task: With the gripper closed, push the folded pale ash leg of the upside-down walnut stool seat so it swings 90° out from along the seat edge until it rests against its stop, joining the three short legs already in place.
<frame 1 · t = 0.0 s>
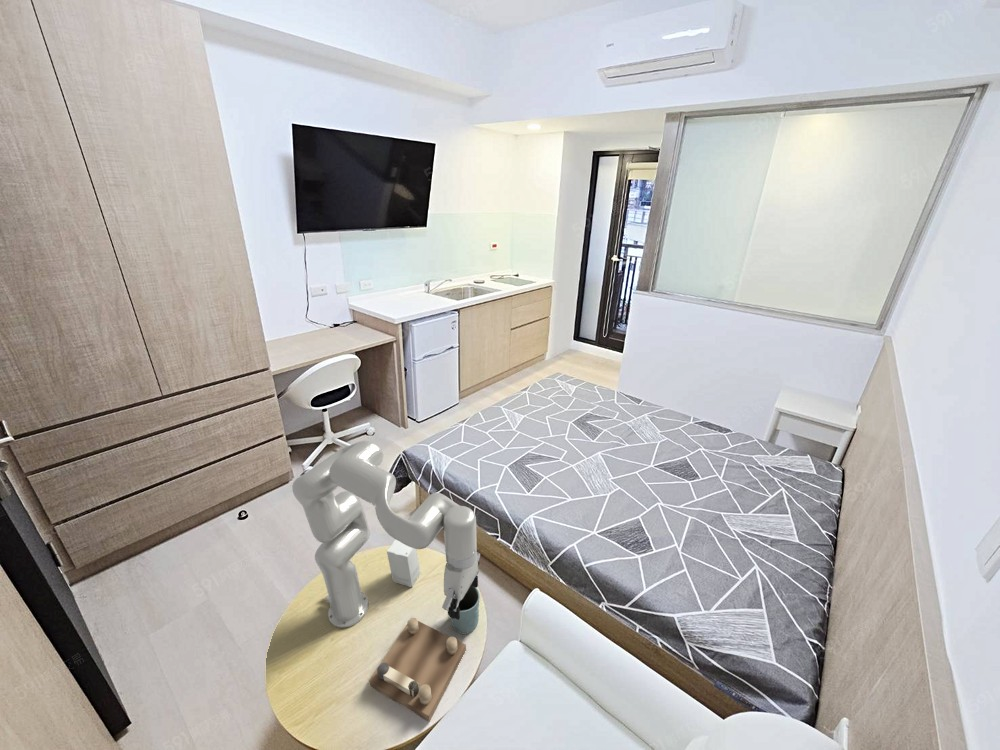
hand: (463, 600, 105), 31 cm above the table, tool pointing down, fingers open, 9 cm apart
stool seat: (419, 667, 119), on the table
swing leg: (397, 679, 112), point 4 cm above the table, hinge at 0.0°
skincare box: (406, 578, 146), on the table
teal cup: (464, 621, 132), on the table
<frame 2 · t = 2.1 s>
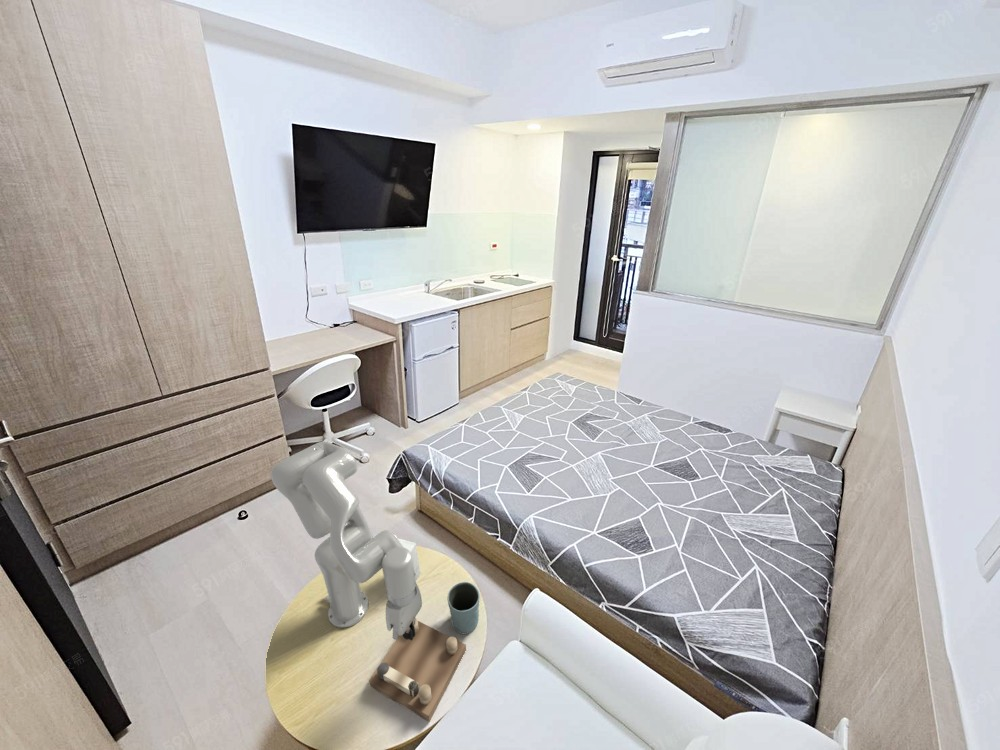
hand: (409, 635, 112), 15 cm above the table, tool pointing down, fingers closed
nothing on the table moved.
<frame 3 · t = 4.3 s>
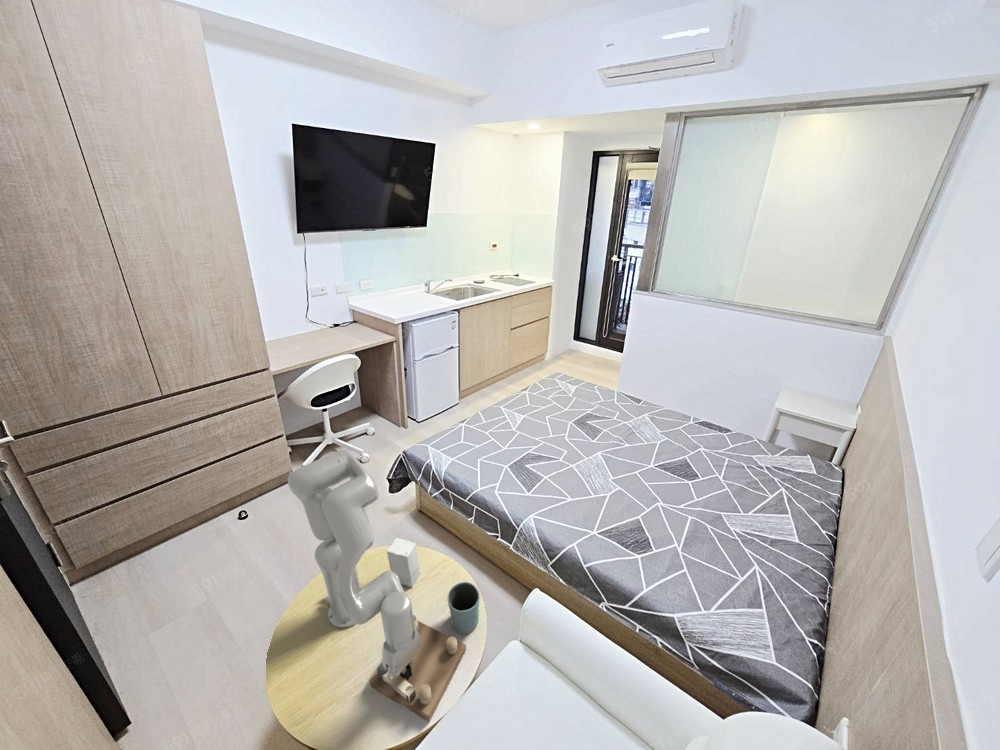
hand: (406, 674, 113), 4 cm above the table, tool pointing down, fingers closed
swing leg: (396, 681, 111), point 4 cm above the table, hinge at -7.3°, touching gripper
everything else where it was.
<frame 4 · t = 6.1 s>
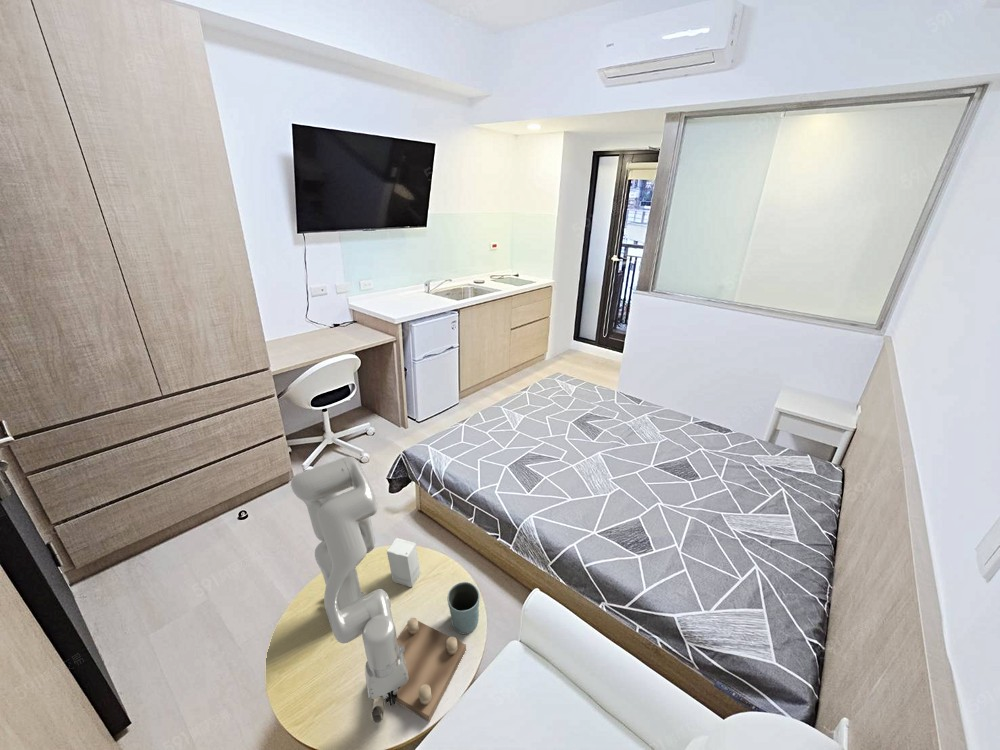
hand: (391, 699, 108), 4 cm above the table, tool pointing down, fingers closed
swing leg: (380, 691, 109), point 4 cm above the table, hinge at -59.4°, touching gripper
everything else where it was.
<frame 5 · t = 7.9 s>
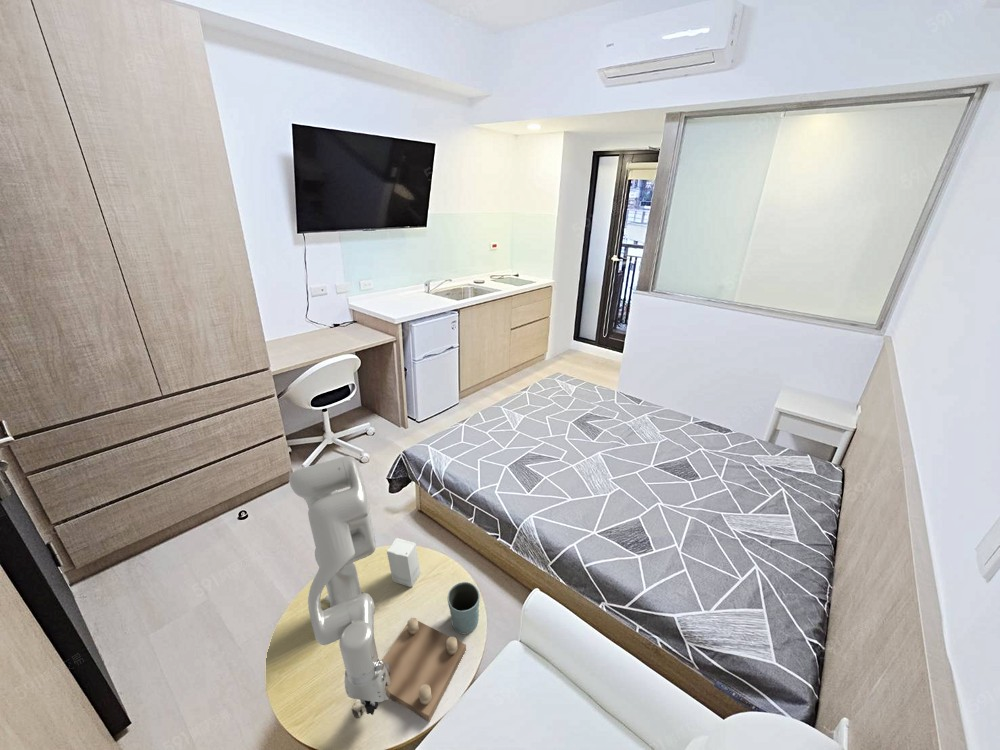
hand: (372, 707, 106), 4 cm above the table, tool pointing down, fingers closed
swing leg: (371, 689, 109), point 4 cm above the table, hinge at -90.8°
everything else where it was.
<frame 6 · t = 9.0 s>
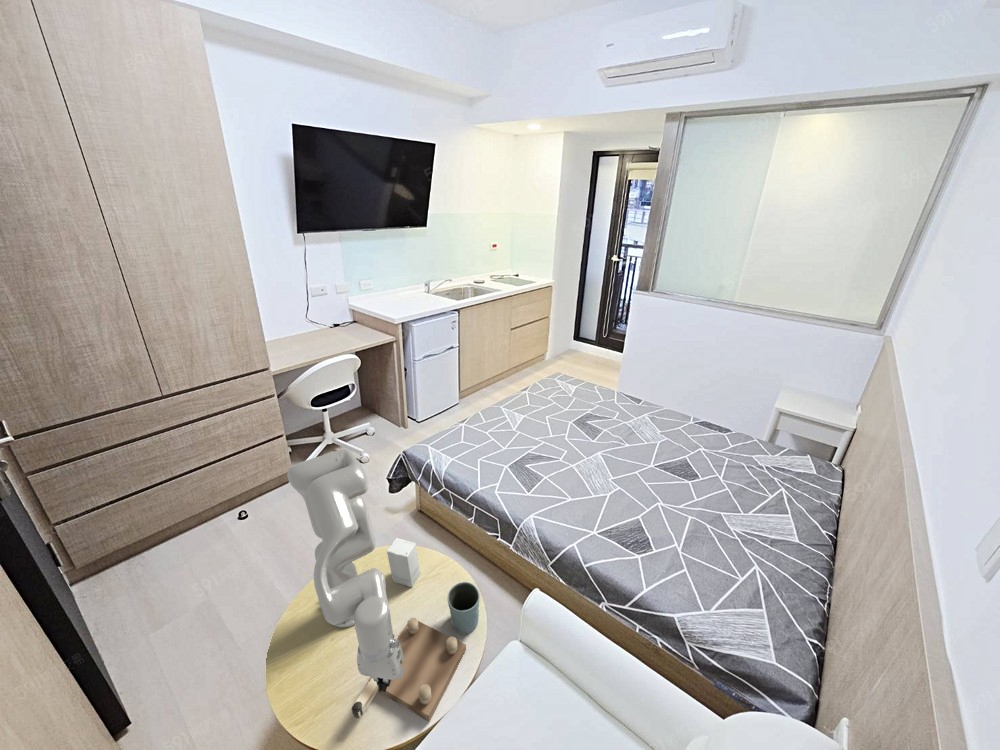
hand: (384, 684, 101), 15 cm above the table, tool pointing down, fingers closed
nothing on the table moved.
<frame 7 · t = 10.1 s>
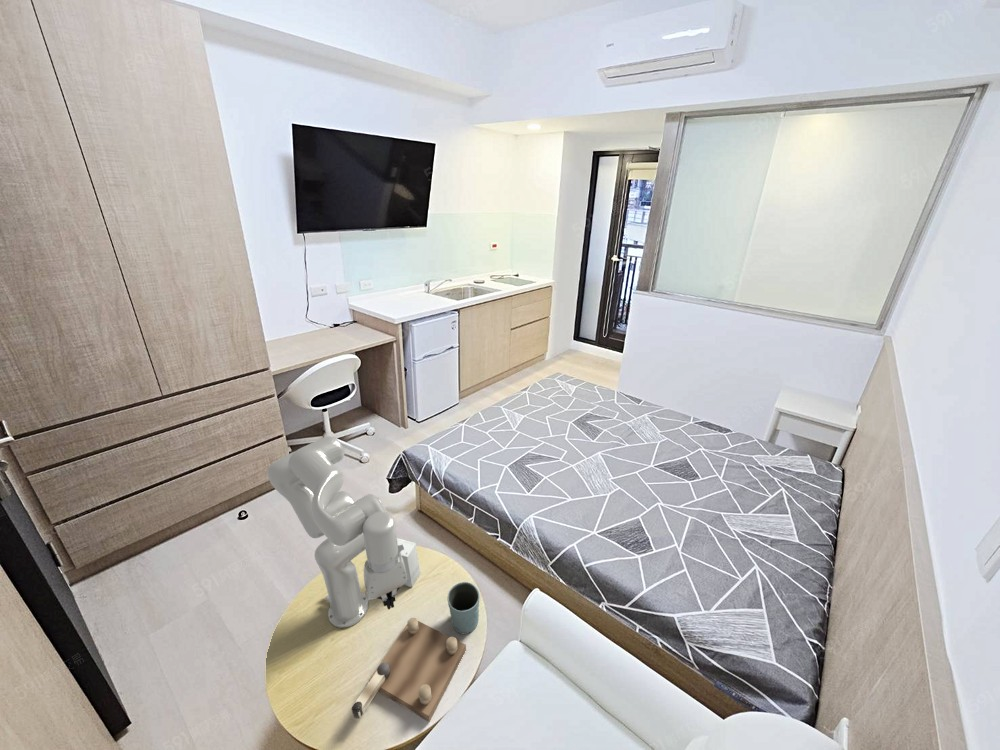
hand: (389, 603, 108), 27 cm above the table, tool pointing down, fingers closed
nothing on the table moved.
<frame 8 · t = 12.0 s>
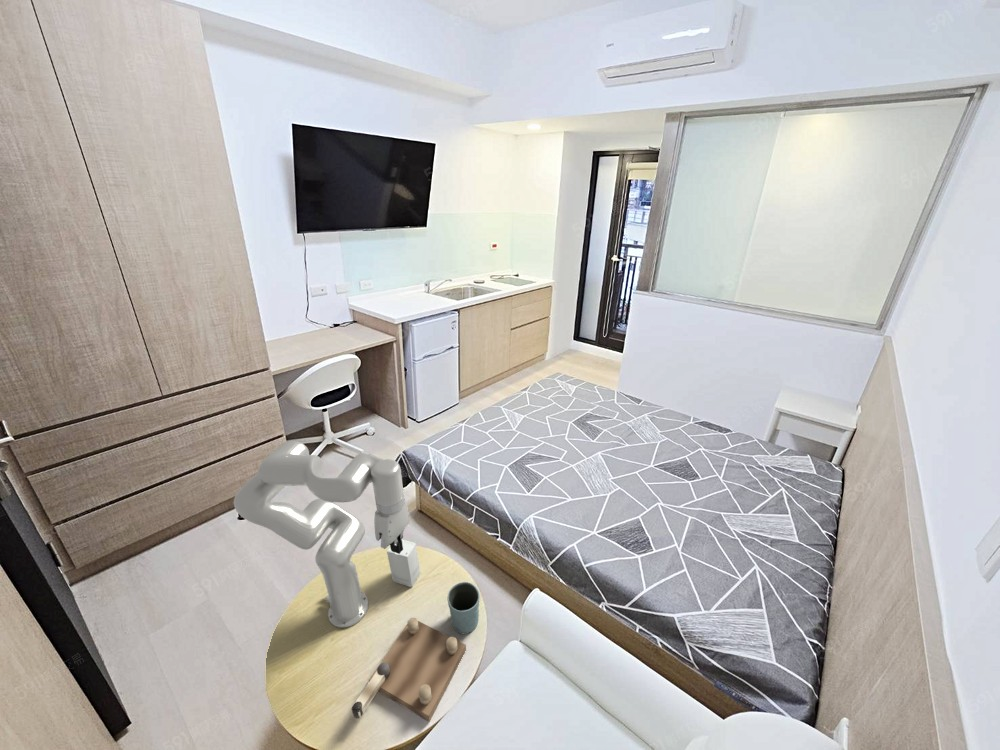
hand: (397, 550, 118), 32 cm above the table, tool pointing down, fingers closed
nothing on the table moved.
at the end: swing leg at -91° (first picture: +0°); teal cup moved 0.2 cm from its start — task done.
